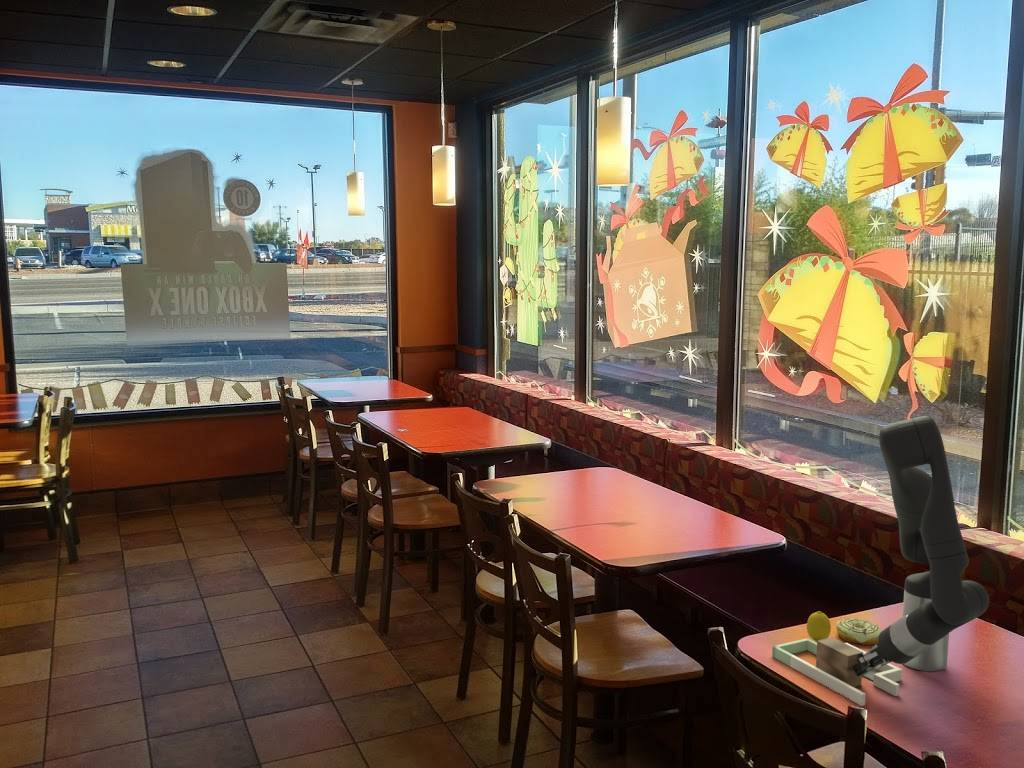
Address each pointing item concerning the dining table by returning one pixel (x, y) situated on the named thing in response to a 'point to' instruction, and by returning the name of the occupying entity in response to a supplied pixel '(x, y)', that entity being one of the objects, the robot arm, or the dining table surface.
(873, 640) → the decorated donut
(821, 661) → the block
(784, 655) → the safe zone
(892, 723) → the dining table surface
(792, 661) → the box
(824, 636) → the lemon
